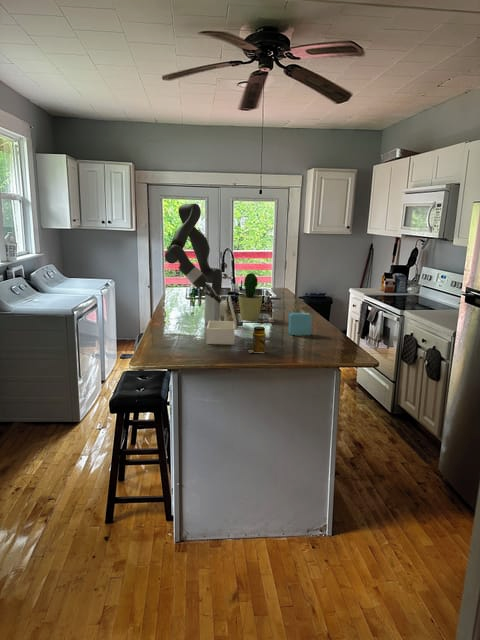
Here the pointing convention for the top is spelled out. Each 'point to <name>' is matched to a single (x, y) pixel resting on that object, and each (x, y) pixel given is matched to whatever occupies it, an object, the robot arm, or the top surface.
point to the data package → (300, 324)
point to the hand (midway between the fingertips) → (220, 301)
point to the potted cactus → (250, 300)
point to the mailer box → (220, 332)
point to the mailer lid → (232, 311)
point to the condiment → (259, 339)
